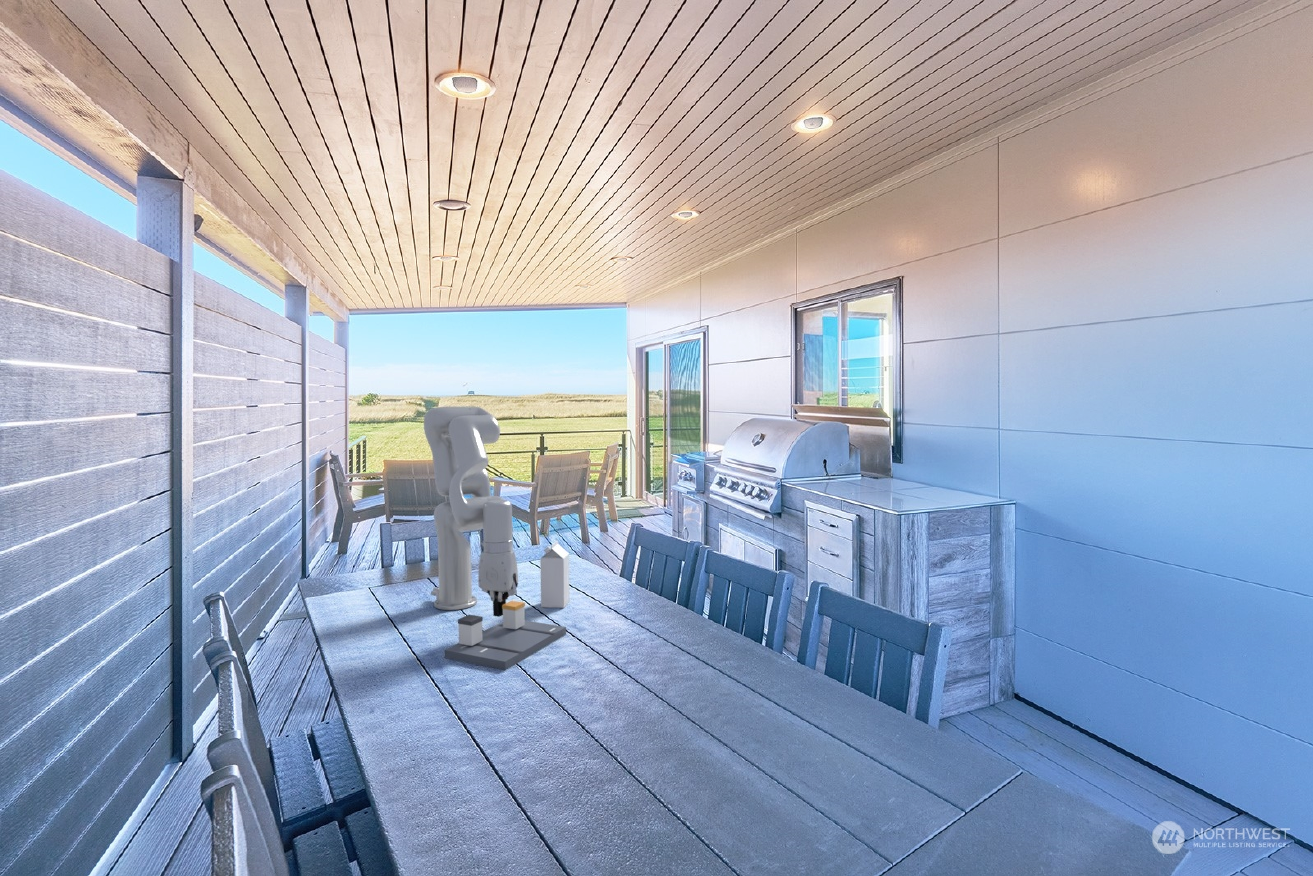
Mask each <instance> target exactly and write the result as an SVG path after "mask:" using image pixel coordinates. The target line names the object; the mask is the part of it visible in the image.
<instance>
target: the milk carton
mask: <svg viewBox="0 0 1313 876" xmlns="http://www.w3.org/2000/svg"><path fill="white" fill-rule="evenodd" d="M543 551H544V553H545V554H544V555H542V556H540V558H539V559H540V561H539V563H540V565H539V566H540V568H539V570H540V608H551V609H552V608H554V609H555V608H561V609H565V608H566V606H567V605H568V604H569V602H570V553H569V552H568V551H567V550H566V549H565V548H563V547H562V546H561V545H560V544H559V541H558V539H557V540H555V541H554V542H553V543H552V544H551V546H550V545H548V546H546V547H545V549H544V550H543Z"/></svg>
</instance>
